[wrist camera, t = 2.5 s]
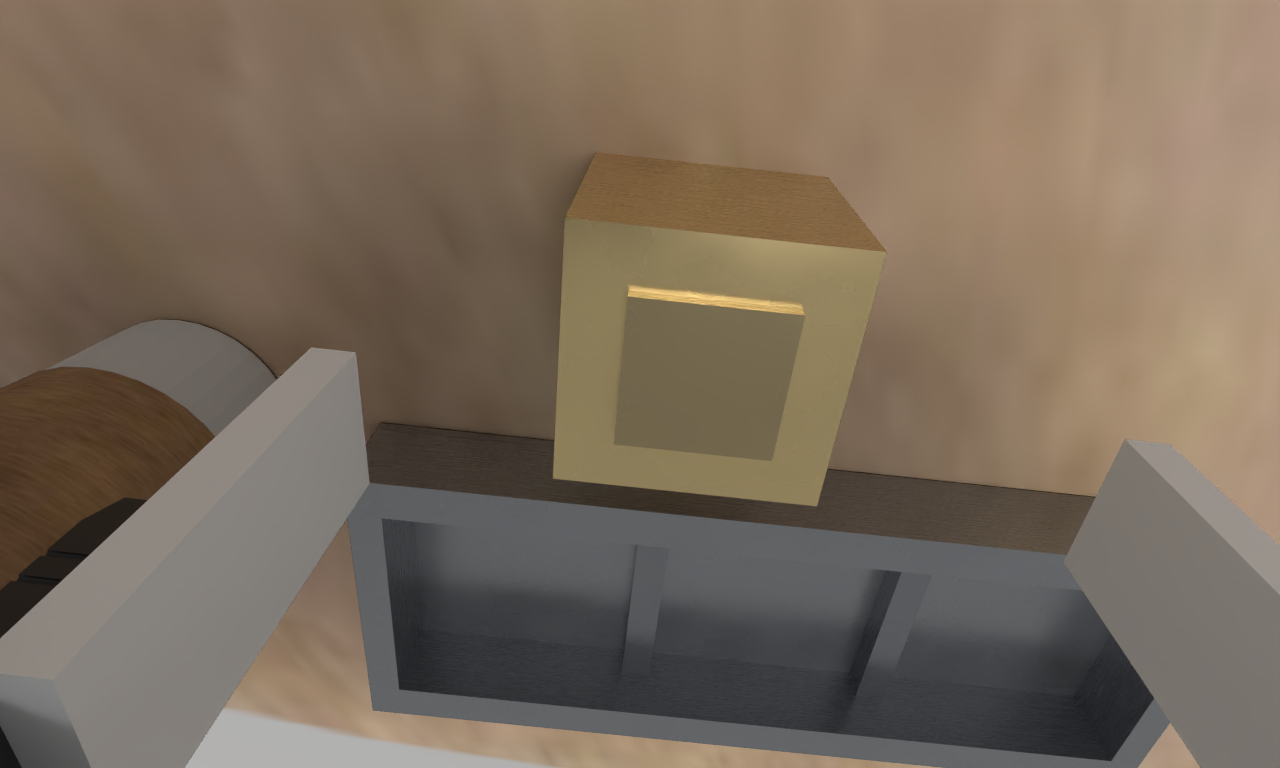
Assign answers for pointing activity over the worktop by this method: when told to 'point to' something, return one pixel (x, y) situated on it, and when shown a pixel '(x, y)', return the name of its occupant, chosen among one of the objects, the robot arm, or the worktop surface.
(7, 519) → the coffee cup
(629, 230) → the recessed panel cube
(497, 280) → the worktop surface
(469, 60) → the worktop surface
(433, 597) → the grey divided tray
